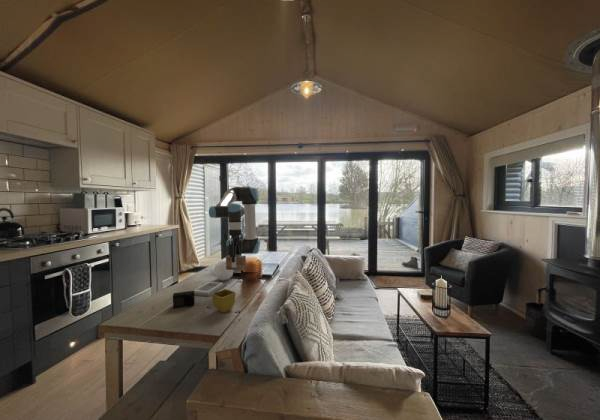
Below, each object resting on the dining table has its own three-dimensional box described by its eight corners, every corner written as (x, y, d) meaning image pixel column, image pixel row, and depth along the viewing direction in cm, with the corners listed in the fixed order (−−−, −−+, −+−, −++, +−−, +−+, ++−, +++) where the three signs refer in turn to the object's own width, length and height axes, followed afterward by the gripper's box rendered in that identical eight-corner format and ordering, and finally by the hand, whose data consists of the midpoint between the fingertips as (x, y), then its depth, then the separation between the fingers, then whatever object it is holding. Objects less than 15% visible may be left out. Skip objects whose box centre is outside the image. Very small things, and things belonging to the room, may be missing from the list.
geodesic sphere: (242, 271, 190) (233, 254, 193) (227, 276, 178) (217, 258, 182) (230, 280, 196) (222, 264, 200) (215, 286, 185) (206, 268, 188)
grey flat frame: (208, 283, 182) (208, 280, 181) (227, 285, 178) (227, 282, 178) (188, 294, 162) (188, 291, 162) (209, 296, 159) (209, 293, 159)
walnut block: (229, 267, 173) (229, 255, 173) (245, 268, 171) (245, 255, 170) (226, 269, 169) (225, 256, 168) (242, 270, 166) (242, 257, 166)
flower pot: (222, 315, 134) (221, 297, 134) (211, 311, 140) (211, 293, 139) (236, 309, 141) (236, 292, 141) (225, 305, 147) (225, 288, 146)
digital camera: (172, 309, 142) (172, 296, 141) (174, 305, 147) (173, 292, 147) (194, 306, 145) (193, 293, 145) (194, 302, 150) (194, 290, 150)
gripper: (235, 226, 177) (236, 262, 179) (222, 230, 160) (223, 269, 162) (246, 227, 176) (247, 262, 177) (234, 231, 159) (235, 270, 160)
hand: (236, 266), depth 170 cm, fingers closed on walnut block, 4 cm apart
